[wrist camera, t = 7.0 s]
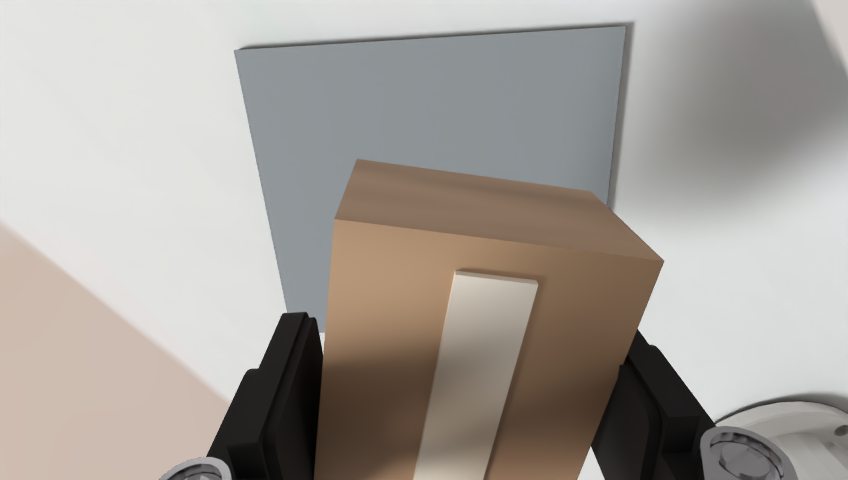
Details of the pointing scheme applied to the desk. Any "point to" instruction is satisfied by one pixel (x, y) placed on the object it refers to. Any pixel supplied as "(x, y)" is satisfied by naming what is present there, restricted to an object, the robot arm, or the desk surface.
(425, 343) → the card box
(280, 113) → the slate mat
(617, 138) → the desk surface
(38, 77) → the desk surface
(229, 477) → the robot arm
